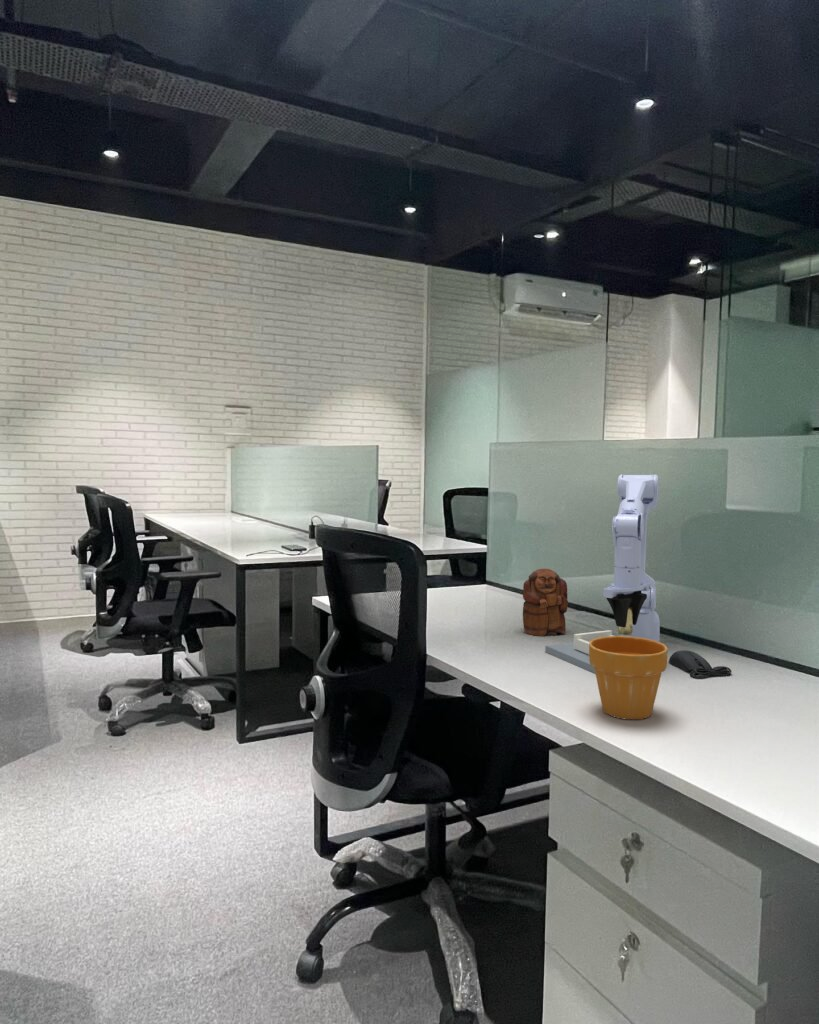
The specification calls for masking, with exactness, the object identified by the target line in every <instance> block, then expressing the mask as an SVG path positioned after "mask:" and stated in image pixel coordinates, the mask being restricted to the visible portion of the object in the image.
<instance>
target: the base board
mask: <svg viewBox="0 0 819 1024" xmlns="http://www.w3.org/2000/svg"><path fill="white" fill-rule="evenodd" d="M544 652H545V653H547V654H549V655H552V656H553V657H556V658H558V659H560V660H563V661H565V662H567V663H569V664H573V665H575V666H577V667H579V668H581V669H584V670H587V671H589V672H590V673H593V674H594V675H596V673H595V669H594V667H593V666H592V665H591V664H590V660H589V654H586V653H584V652H581V651H579V650H576V649H574V641H573V642H565V643H556V644H550V645H549V644H547V645H545V647H544Z"/></svg>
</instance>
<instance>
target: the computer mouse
mask: <svg viewBox="0 0 819 1024" xmlns="http://www.w3.org/2000/svg"><path fill="white" fill-rule="evenodd" d="M668 663H669V665H671V666H672V667H675V668H678V669H679V670H681V671H683V672H685V673H689V676H690V678H692V679H695V680H701V679H705V677H706V678H708V677H710V678H712V677H713V678H717V677H723V678H724V677H726V676H727V677H731V676H732V669H731V667H729V666H722V665H721V666H718V665H717V666H714V667H713V668H712V665H711V664H710V663H709V662H708V661H707V660H706V658H704V657H703V656H702V655H700V654H698V653H697V652H694V651H692V650H687V649H686V650H685V649H684V650H677V651H675V652H673V653H672V654H671V656H670V658H669V660H668ZM730 675H731V676H730Z"/></svg>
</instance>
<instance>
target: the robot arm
mask: <svg viewBox="0 0 819 1024" xmlns="http://www.w3.org/2000/svg"><path fill="white" fill-rule="evenodd" d="M659 480H660V478H659V476H658V475H657V474H656V473H655V474H654V473H653V474H623V473H622V474H620V475H618V477H617V489H616V490H617V496H618V501H619V507H618V511H617V515H616V516H615V515H614V516H613V517H612V527H611V529H612V530H611V531H612V539H613V542H612V544H613V547H614V554H613V555H614V557H613V558H614V562H613V563H614V564H613V567H614V568H613V583H610V585H609V586H608V587H604V588H603V596H602V597H603V598H606V600H607V602H608V604H609V606H610V609H611V611H612V613H613V616H614V621H615V626H616V627H617V626H619V627H626V623H627V614H628V609H629V607H632V608H633V634H632V635H620V634H619V636H630V637H639V638H645V639H650V640H654V641H657V642H660V635H661V634H660V633H661V632H660V631H661V628H660V627H661V625H660V624H661V621H660V616H659V614H658V613H657V612H656V611H655V610H656V607H657V605H656V604H657V587H656V585H657V583H656V581H655V579H654V578H653V577H652V576H650V575H648V574H647V573H646V558H647V557H646V555H647V535H648V534H647V533H648V532H647V531H648V529H647V528H648V517H649V513H650V511H651V510H654V509H655V508H657V506H658V504H659V489H660V488H659V487H660V486H659V484H660V483H659V482H660V481H659Z"/></svg>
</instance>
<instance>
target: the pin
mask: <svg viewBox="0 0 819 1024" xmlns="http://www.w3.org/2000/svg"><path fill="white" fill-rule="evenodd" d="M616 627H617V633H616V634H617V635H619V636H620V635H632V634H633V608H632V607H629V609H628V614H627V623H626V627H619V626H616Z"/></svg>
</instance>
